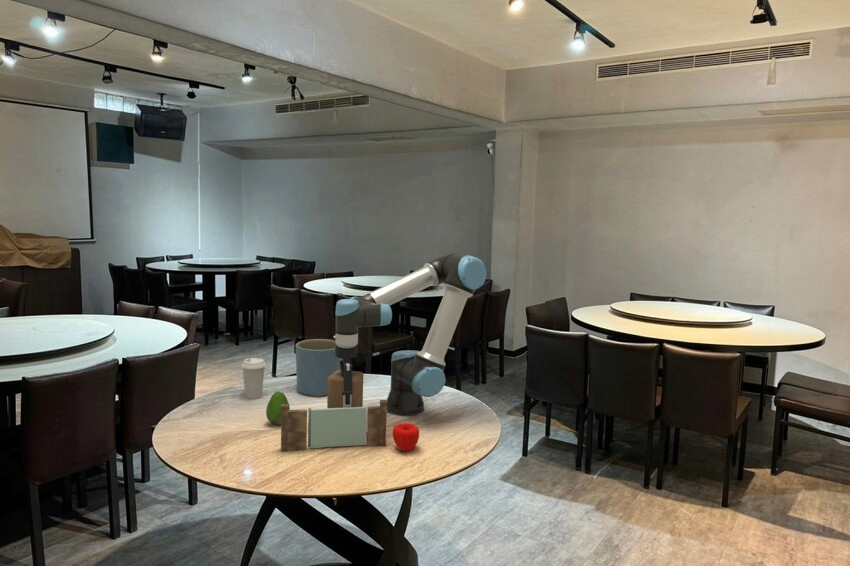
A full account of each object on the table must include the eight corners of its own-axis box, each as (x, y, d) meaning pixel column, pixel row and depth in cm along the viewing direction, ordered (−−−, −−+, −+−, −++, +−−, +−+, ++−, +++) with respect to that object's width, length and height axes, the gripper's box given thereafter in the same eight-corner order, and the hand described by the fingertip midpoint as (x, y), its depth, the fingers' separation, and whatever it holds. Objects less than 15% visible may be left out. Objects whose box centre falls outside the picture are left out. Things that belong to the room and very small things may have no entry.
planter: (319, 401, 230) (320, 352, 227) (285, 391, 240) (285, 344, 237) (350, 389, 246) (351, 343, 243) (317, 380, 256) (318, 336, 253)
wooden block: (354, 437, 193) (355, 379, 190) (325, 433, 195) (326, 376, 192) (362, 426, 203) (364, 371, 200) (336, 423, 205) (337, 368, 202)
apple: (393, 442, 194) (393, 420, 192) (419, 443, 193) (420, 421, 192) (390, 454, 185) (391, 430, 184) (418, 455, 184) (419, 432, 183)
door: (365, 443, 191) (366, 405, 189) (365, 444, 190) (366, 406, 188) (308, 446, 187) (308, 407, 185) (308, 447, 185) (308, 409, 184)
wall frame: (384, 442, 193) (385, 399, 191) (385, 445, 191) (387, 402, 189) (281, 448, 185) (281, 403, 183) (280, 451, 183) (281, 406, 181)
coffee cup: (247, 392, 237) (247, 356, 235) (269, 393, 236) (269, 358, 234) (236, 399, 228) (236, 362, 226) (259, 401, 227) (259, 364, 225)
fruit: (272, 418, 210) (272, 386, 208) (293, 421, 209) (293, 389, 207) (262, 426, 202) (262, 393, 201) (283, 429, 201) (283, 396, 199)
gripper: (332, 336, 206) (331, 394, 209) (338, 355, 182) (337, 419, 185) (353, 336, 207) (352, 393, 210) (361, 354, 184) (360, 418, 187)
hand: (345, 406), depth 198 cm, fingers closed on wooden block, 12 cm apart
